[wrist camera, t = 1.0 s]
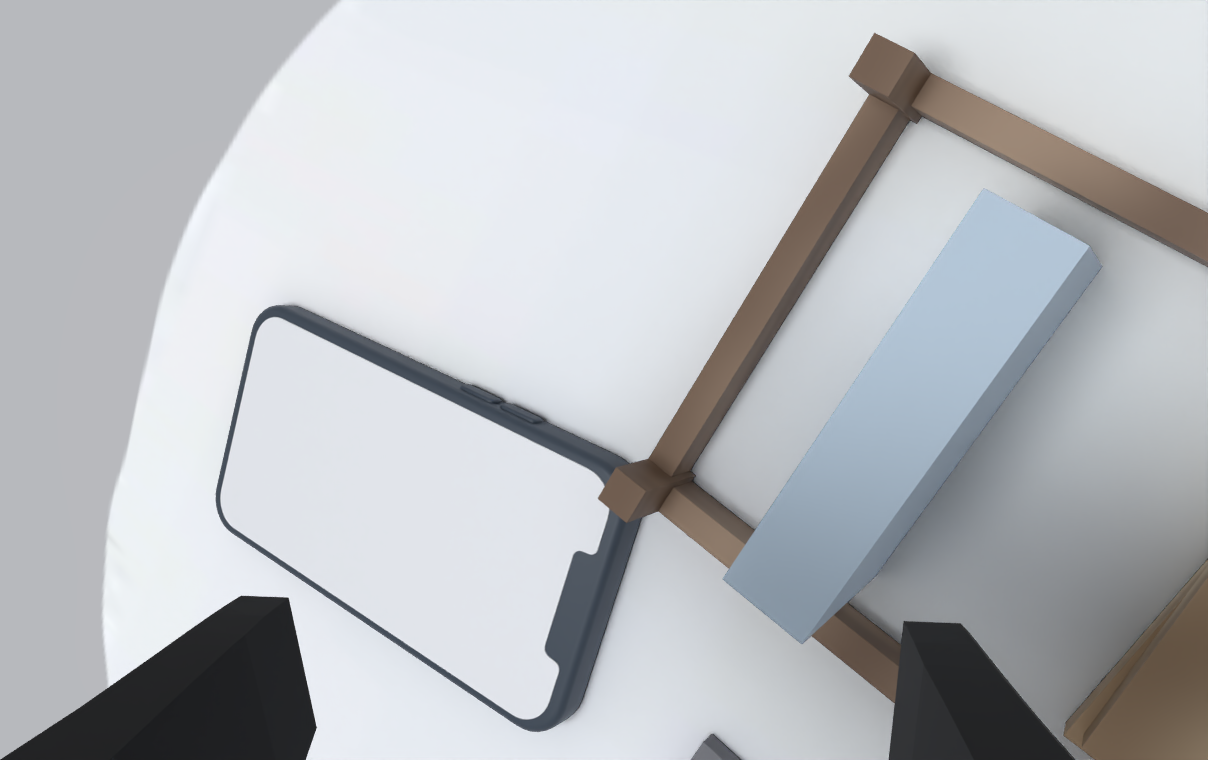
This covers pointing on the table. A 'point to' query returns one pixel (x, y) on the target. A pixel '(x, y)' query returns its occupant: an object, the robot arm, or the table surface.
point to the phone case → (427, 511)
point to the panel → (912, 412)
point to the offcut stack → (1154, 689)
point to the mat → (714, 751)
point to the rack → (892, 102)
